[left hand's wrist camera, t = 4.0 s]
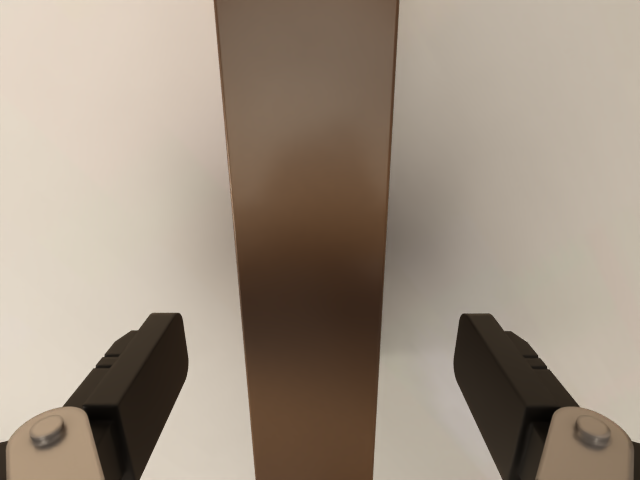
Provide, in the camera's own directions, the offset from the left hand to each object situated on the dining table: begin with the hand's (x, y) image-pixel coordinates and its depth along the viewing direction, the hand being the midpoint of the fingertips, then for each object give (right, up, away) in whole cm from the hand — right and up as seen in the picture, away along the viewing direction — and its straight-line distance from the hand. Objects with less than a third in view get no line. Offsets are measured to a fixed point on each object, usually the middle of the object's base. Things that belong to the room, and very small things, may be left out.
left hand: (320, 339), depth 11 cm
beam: (0, +21, +2) cm, 21 cm away
